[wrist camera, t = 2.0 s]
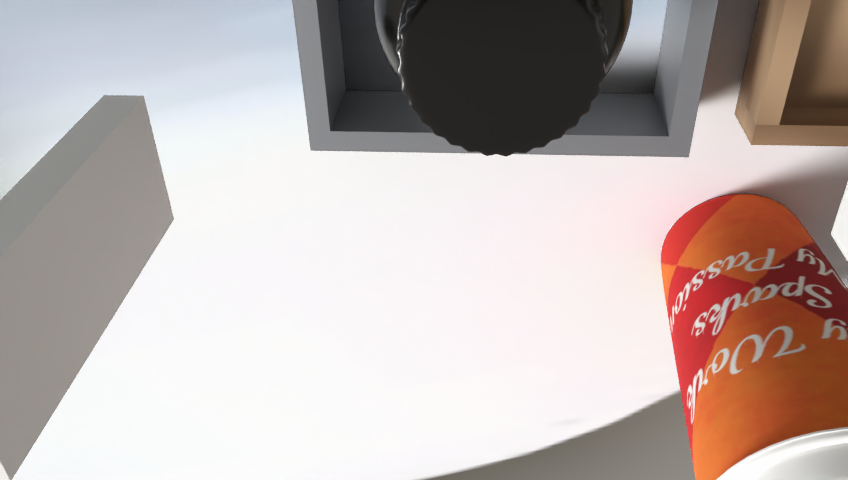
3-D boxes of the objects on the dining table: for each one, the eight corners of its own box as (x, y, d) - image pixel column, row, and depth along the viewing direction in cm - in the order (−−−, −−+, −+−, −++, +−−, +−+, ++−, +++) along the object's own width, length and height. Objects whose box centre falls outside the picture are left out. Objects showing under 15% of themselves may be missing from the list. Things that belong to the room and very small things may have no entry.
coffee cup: (815, 141, 31) (1018, 440, 19) (844, 294, 35) (1027, 621, 23) (607, 206, 33) (666, 506, 21) (657, 341, 38) (730, 659, 25)
